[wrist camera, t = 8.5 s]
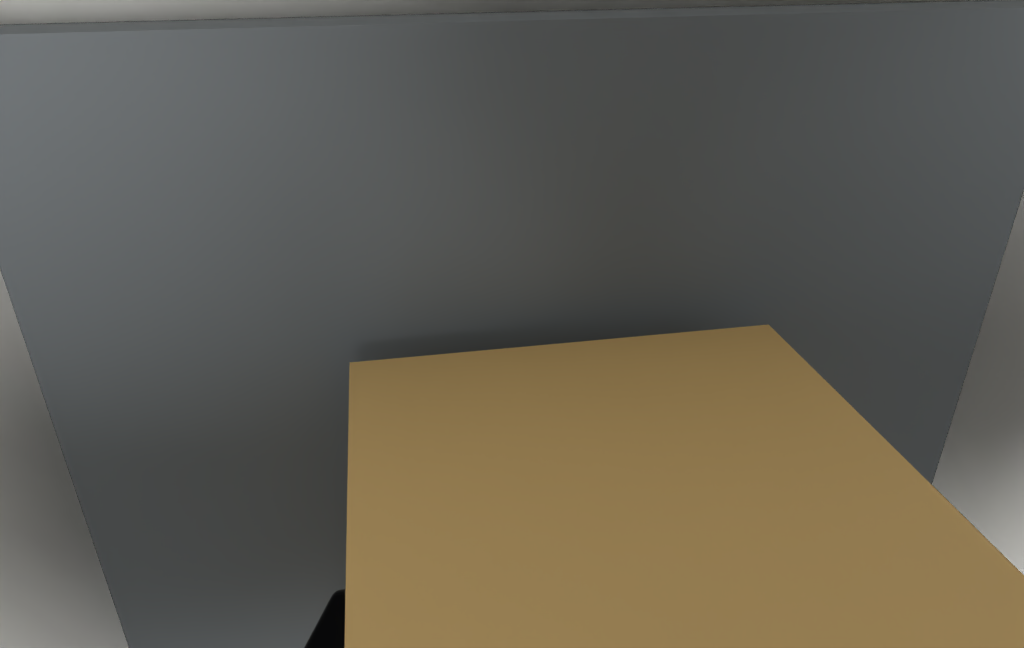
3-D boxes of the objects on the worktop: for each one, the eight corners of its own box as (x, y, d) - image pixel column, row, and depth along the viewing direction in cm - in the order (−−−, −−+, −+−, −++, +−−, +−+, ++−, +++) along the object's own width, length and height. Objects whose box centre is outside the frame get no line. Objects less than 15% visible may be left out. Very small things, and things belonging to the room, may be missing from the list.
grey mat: (840, 664, 15) (864, 701, 14) (196, 771, 13) (187, 818, 13) (1027, 0, 10) (1081, 5, 9) (-39, 25, 8) (-79, 36, 7)
